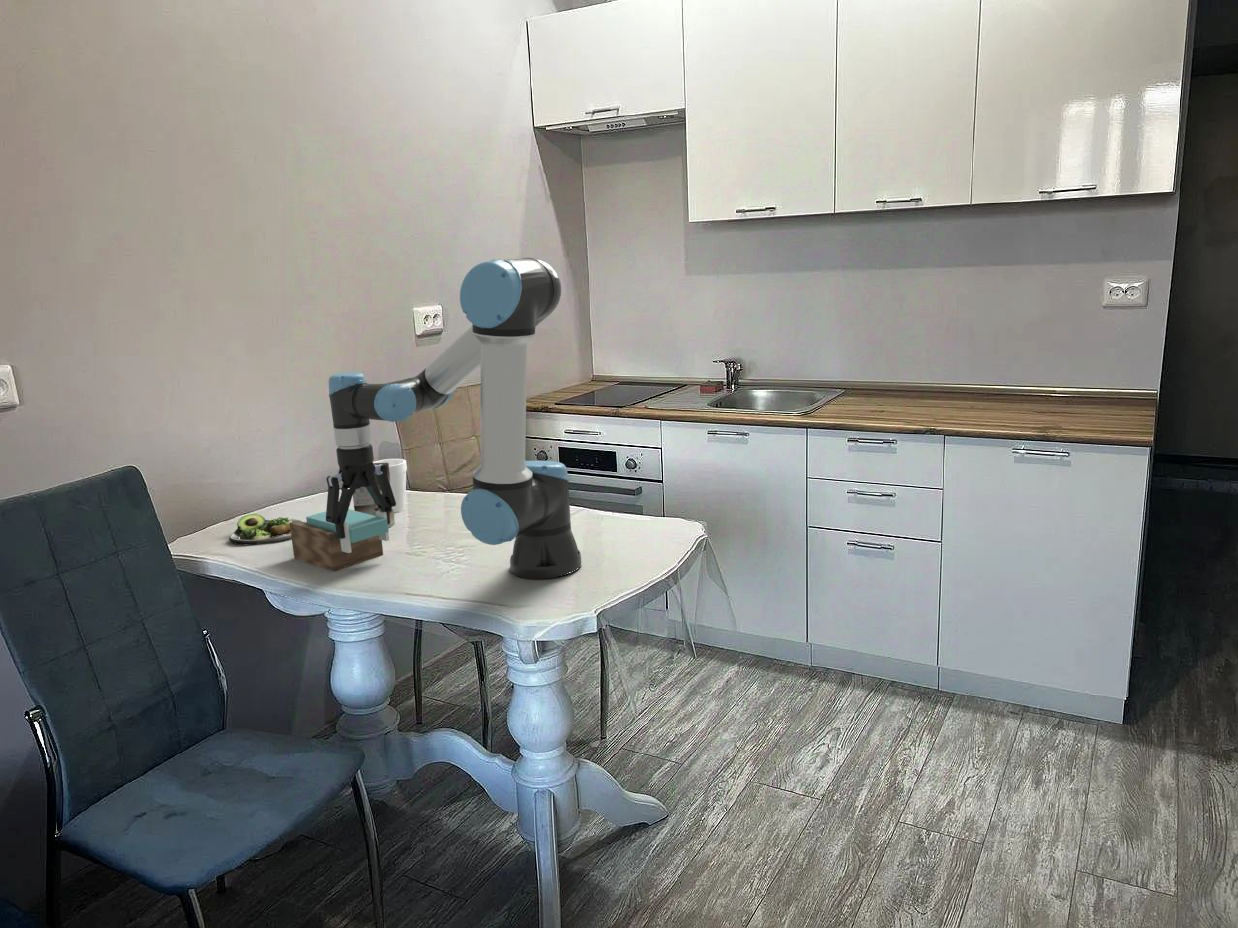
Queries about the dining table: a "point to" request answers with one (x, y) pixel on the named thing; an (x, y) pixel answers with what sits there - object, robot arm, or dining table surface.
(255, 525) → the salad plate
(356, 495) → the coffee box
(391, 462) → the foam cup
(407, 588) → the dining table surface
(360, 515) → the lid
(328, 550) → the walnut box
